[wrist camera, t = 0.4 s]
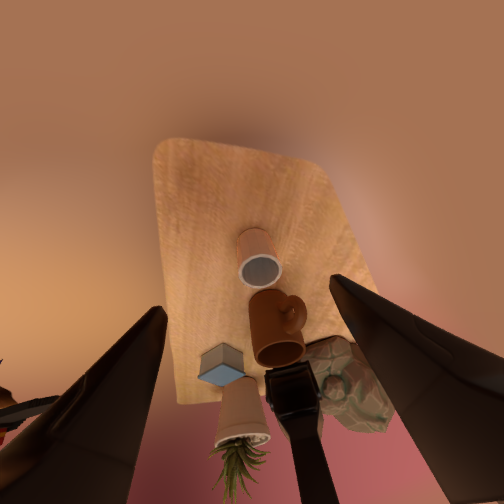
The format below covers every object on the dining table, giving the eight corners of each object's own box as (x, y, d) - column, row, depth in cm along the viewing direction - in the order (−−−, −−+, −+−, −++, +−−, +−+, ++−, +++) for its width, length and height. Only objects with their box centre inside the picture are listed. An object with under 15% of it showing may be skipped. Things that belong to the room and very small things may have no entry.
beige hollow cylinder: (278, 244, 26) (290, 272, 21) (251, 264, 28) (256, 294, 22) (257, 220, 24) (265, 245, 19) (228, 243, 25) (228, 272, 20)
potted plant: (216, 372, 45) (209, 511, 29) (268, 372, 48) (289, 497, 32) (210, 393, 52) (201, 517, 35) (256, 392, 55) (268, 505, 38)
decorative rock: (268, 381, 51) (283, 461, 38) (288, 330, 41) (318, 414, 28) (351, 377, 56) (389, 445, 43) (387, 330, 46) (451, 401, 33)
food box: (244, 353, 42) (245, 374, 38) (222, 365, 44) (221, 387, 40) (223, 342, 38) (222, 364, 35) (200, 355, 40) (197, 378, 37)
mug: (265, 264, 28) (280, 314, 20) (307, 273, 30) (335, 322, 22) (242, 313, 34) (246, 367, 26) (278, 318, 36) (292, 370, 28)
